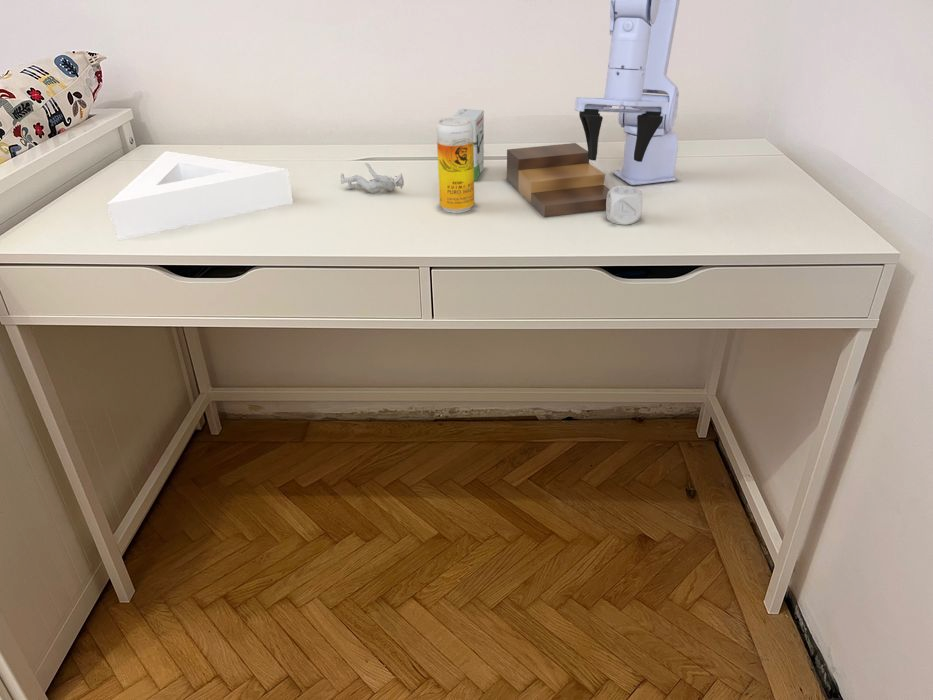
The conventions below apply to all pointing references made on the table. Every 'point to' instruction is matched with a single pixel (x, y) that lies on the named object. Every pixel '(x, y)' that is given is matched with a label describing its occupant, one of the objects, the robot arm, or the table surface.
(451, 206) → the beer can
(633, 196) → the die
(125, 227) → the triangle block
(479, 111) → the ink box
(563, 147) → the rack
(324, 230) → the table surface
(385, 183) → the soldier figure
